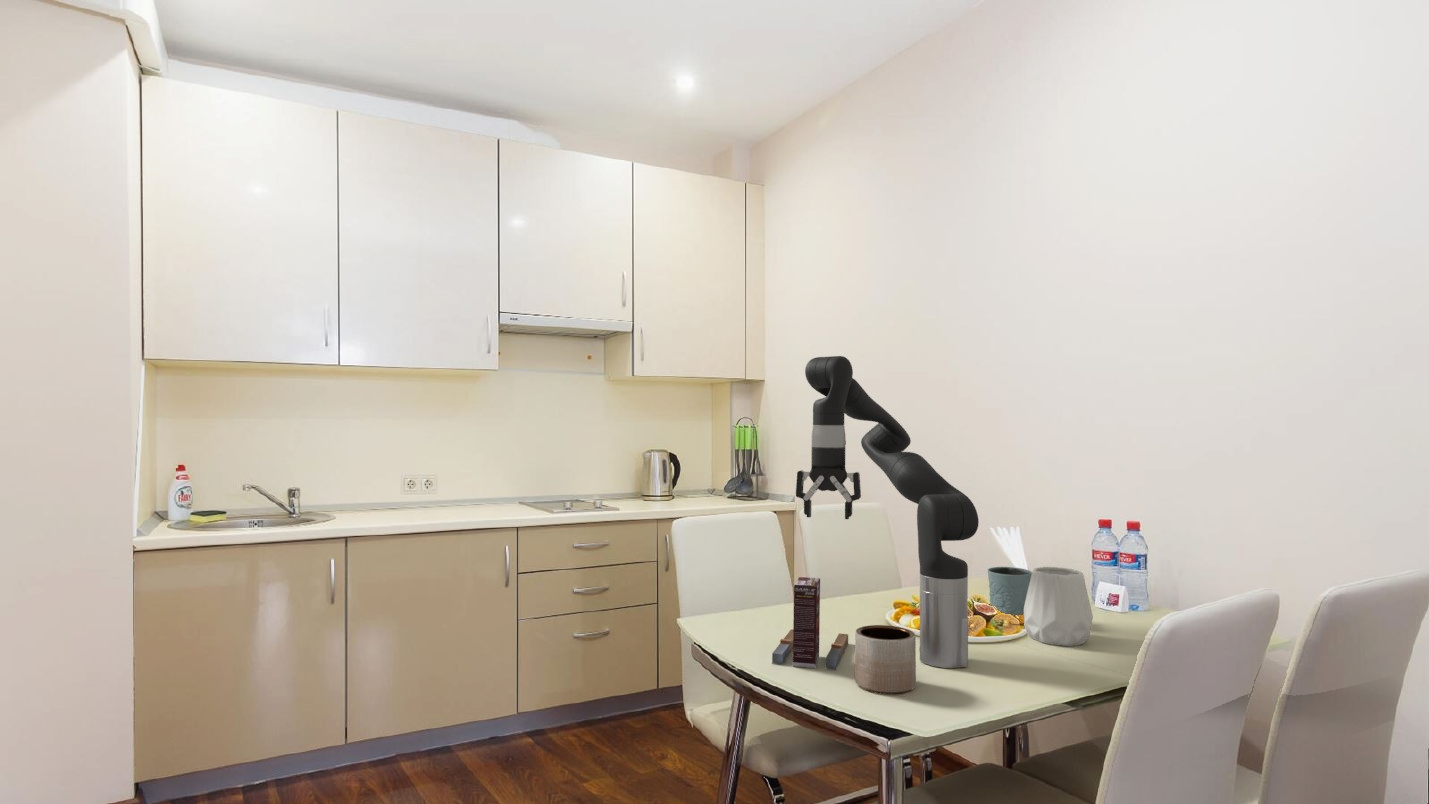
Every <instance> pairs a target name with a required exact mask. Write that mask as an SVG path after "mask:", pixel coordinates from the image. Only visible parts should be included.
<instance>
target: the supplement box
mask: <svg viewBox="0 0 1429 804" xmlns="http://www.w3.org/2000/svg"><path fill="white" fill-rule="evenodd" d="M820 601H821V578H819V577H802V576H800V577H798V578H797V581H796V582H795V584H794V585H793V620H792V621H793V626H792V627H793V628H792V629H793V650H792V662H791V663H792V667H795V668H805V669H806V668H807V669H816V667H817V664H818V660H819V658H820V626H821V625H820V624H821V623H820V622H821V620H820V619H821V618H820V617H821V616H820V615H821V614H820V611H821V609H820V608H821V606H820V605H821V604H820V603H821V602H820Z"/></svg>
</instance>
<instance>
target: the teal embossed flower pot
mask: <svg viewBox="0 0 1429 804" xmlns="http://www.w3.org/2000/svg"><path fill="white" fill-rule="evenodd" d="M1031 574H1032V571H1031V570H1028V569H1025V568H1022V567H1021V568H1020V567H1011V566H993V567H989V568H987V577H988V578H987V579H988V587H989V603H990V605H992V606H995V607H996V608H997V610H998V611H1000V612H1001V613H1005V614H1011V615H1023V614H1024V605H1025V600H1026V596H1027V592H1028V587H1029V583H1030V579H1031Z"/></svg>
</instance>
